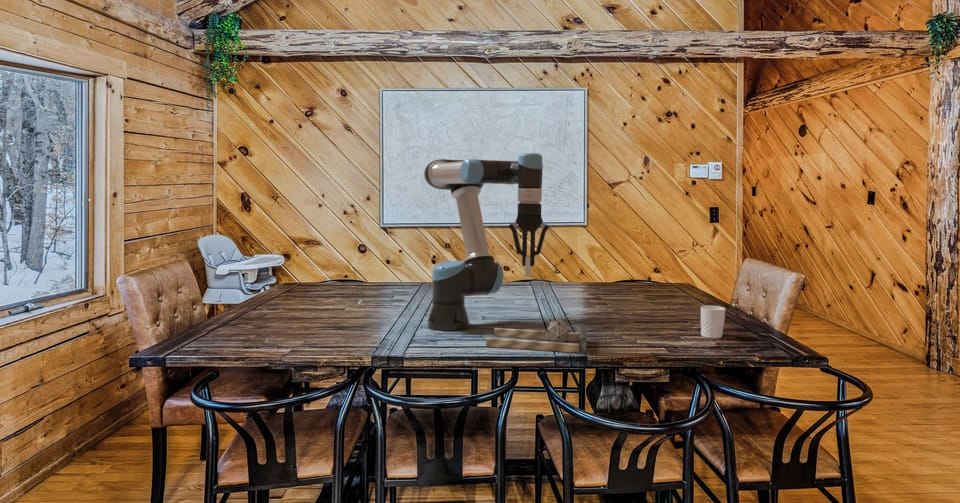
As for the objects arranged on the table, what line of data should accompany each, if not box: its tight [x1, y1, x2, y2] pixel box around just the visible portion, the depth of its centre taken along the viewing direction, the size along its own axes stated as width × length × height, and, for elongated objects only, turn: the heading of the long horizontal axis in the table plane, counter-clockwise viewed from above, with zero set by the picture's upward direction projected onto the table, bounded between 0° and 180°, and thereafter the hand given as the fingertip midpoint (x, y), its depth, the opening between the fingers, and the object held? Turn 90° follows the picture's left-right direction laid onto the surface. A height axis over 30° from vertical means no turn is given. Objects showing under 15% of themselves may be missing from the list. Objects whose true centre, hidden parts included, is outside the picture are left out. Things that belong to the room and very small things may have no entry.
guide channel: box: [485, 325, 588, 354], centre depth 182 cm, size 31×15×5 cm, turn 78°
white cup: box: [700, 304, 726, 339], centre depth 193 cm, size 8×8×10 cm
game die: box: [543, 318, 572, 343], centre depth 182 cm, size 9×8×10 cm
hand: (528, 276), depth 180 cm, fingers closed
